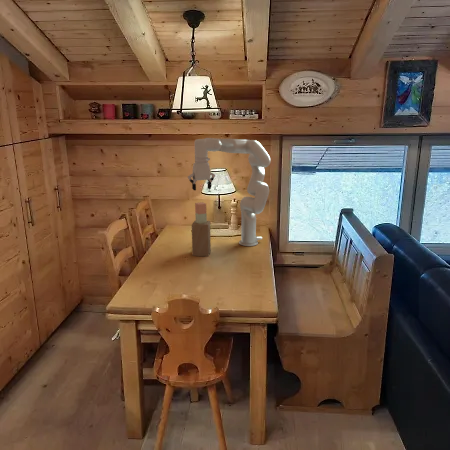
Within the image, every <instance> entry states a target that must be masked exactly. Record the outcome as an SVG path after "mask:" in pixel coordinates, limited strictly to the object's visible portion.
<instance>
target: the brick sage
mask: <svg viewBox="0 0 450 450" xmlns="http://www.w3.org/2000/svg"><path fill="white" fill-rule="evenodd" d="M194 213H195V212H194ZM207 215H208V214H207V212H206V213H205V214H197V213H195V215H194V216H195V221H196V223H198V224H202V223H207V221H208V220H207V219H208V218H207Z"/></svg>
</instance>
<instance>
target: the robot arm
mask: <svg viewBox="0 0 450 450" xmlns="http://www.w3.org/2000/svg"><path fill="white" fill-rule="evenodd" d="M209 152H223V153H229V154H243V155H247V154H248V157H247V158H248V159H247V160H248V163H249V165H250V167H251V176H250V179H249V182H248V185H247V188H246V190H247V193H248V194H249V195H250V196H244V197H243V198H241V200H240V202H239V207H240V212H241V227H240V228H241V236H240V237H241V240H239V242H238V243H239V245H241V246H245V247H254V246H257V245H258V244H259V242H258V241H259V240H260V241H261V240H263V237H262V236H258V235H257V234H256V232H257V231H256V230H257V215H259V214H261V213H262V212H263V211H264V210H265V206H266V203H267V200H268V198H269V194H270V188H269V185H268V184H267V183H266V182H264V181H265V180H264V179H265V175H266V172H265V171H266V170H265V168H267V167H269V166H270V164H271V157H270V155H269V154H268V152H267V151H266V149H265V147H263V145H262V144H261V143H260V142H259V141H257V140H254V139H251V140H250V139H242V138H241V139H238V138H212V137H205V138H198V139H197V138H196V139H195V140H194V162H193V163H192V164H193V165H192V172H191V173H190V174H189V175H188V176H187V178H188V180H189V182H190V183H191V189H192V190H193V191H196V190H197V181H205V180H207V189H209V190H211V189H212V182H213V181H214V180H215V177H216V174H214V173H212V172H211V168H210V167H211V166H210V163H209V161H210V160H211V158H209V155H208V154H209ZM252 196H254V197H252Z"/></svg>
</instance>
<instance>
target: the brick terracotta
mask: <svg viewBox="0 0 450 450" xmlns="http://www.w3.org/2000/svg"><path fill="white" fill-rule="evenodd" d="M194 206H195V210H194V211H195V212H194V213H197V214H205V213H206V214H207V203H205V202H204V201H202V202H201V201H200V202H195V203H194Z"/></svg>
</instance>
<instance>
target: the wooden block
mask: <svg viewBox="0 0 450 450" xmlns="http://www.w3.org/2000/svg"><path fill="white" fill-rule="evenodd" d="M211 243H212V242H211V221H210V220H207V223H202V224H198V223H196V220H193V221H192V224H191V246H192V247H191V251H192V256H193V257H209V255H210V254H211V252H212V251H211V250H212V249H211V245H212V244H211Z"/></svg>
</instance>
